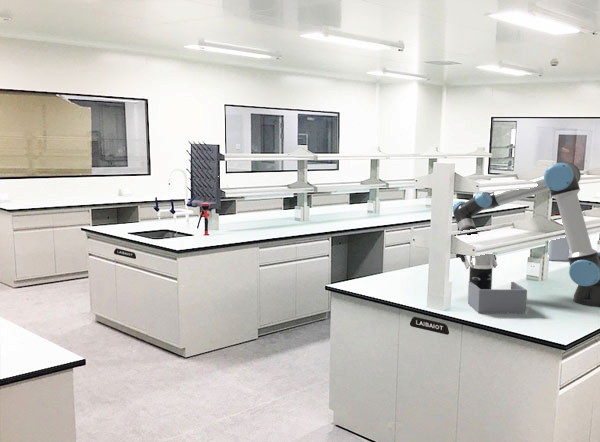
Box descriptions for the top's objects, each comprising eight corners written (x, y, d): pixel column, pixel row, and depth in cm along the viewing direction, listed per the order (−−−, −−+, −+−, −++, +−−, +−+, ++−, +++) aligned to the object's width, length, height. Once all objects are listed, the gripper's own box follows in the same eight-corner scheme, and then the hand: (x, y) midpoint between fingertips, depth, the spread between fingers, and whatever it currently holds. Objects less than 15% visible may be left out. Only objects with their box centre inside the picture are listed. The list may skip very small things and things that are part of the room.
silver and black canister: (495, 298, 261) (497, 245, 258) (485, 303, 253) (488, 248, 250) (474, 295, 268) (476, 243, 265) (464, 299, 260) (466, 245, 257)
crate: (512, 303, 252) (513, 281, 251) (525, 313, 237) (527, 290, 236) (467, 303, 253) (468, 281, 251) (478, 313, 237) (479, 289, 236)
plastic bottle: (571, 261, 351) (573, 217, 348) (545, 260, 354) (547, 216, 351) (564, 257, 366) (566, 214, 363) (539, 256, 369) (541, 214, 365)
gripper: (489, 234, 275) (503, 270, 262) (441, 235, 271) (453, 272, 258) (495, 224, 269) (510, 261, 257) (446, 225, 265) (459, 263, 252)
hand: (481, 267), depth 257 cm, fingers open, 13 cm apart
